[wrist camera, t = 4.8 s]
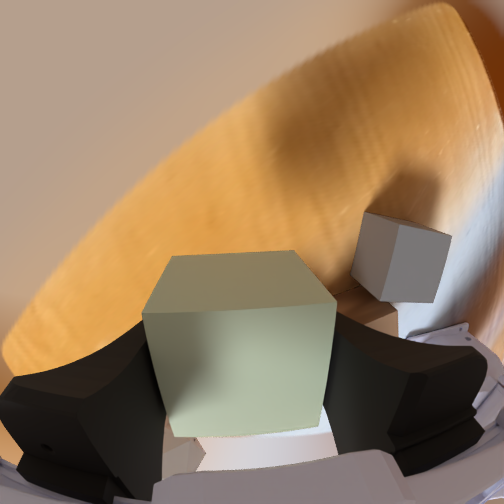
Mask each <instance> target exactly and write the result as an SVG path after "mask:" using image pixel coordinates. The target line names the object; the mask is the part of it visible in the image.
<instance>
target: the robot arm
mask: <svg viewBox="0 0 504 504" xmlns="http://www.w3.org/2000/svg"><path fill="white" fill-rule="evenodd" d="M468 328H469V324H468V323H467V322H465V323H462V324H458V325H455V326H451V327H448V328H444V329H440V330H437V331H433V332H429V333H425V334H421V335H417V336H413V337H409V338H407V339H402V338H399V337H395V336H392V335H389V334H386V333H383V332H380V331H377V330H375V329H372V328H370V327H368V326H365V325H363V324H361V323H359V322H357V321H355V320H353V319H351V318H349V317H347V316H345V315H343V314H341V313H339V312H337V311H336V318H335V327H334V335H333V342H332V350H331V357H330V364H329V370H328V376H327V382H326V388H325V394H324V400H323V406H324V408H325V411H326V414H327V416H328V420H329V423H330V426H331V429H332V433H333V436H334V440H335V444H336V447H337V451H338V455H337V456H333V457H329V458H324V459H319V460H314V461H309V462H302V463H297V464H290V465H283V466H275V467H266V468H257V469H244V470H222V471H199V472H189V473H177V474H174V475H172V476H170V477H168V478H166V479H164V480H162V457H163V440H164V427H165V421H166V415H167V413H166V409H165V406H164V403H163V399H162V396H161V392H160V389H159V385H158V382H157V378H156V374H155V370H154V367H153V363H152V359H151V354H150V350H149V346H148V342H147V337H146V333H145V328H144V323H143V320H142V321H140V322H139V323H138V324H137V325H135V326H134V327H133V328H131V329H130V330H129V331H127V332H126V333H125V334H123V335H122V336H120V337H119V338H117V339H116V340H115V341H113V342H112V343H110V344H109V345H107V346H105V347H104V348H102V349H100V350H98V351H96V352H94V353H93V354H91V355H89V356H86V357H84V358H82V359H79V360H77V361H75V362H72V363H70V364H67V365H64V366H61V367H58V368H55V369H51V370H48V371H44V372H39V373H34V374H28V375H23V376H16V377H14V378H13V379H12V380H11V381H10V383H9V384H8V386H7V387H6V388H5V390H4V391H3V392H2V394H1V395H0V420H1V422H2V423H3V425H4V427H5V428H6V430H7V431H8V432H9V434H10V435H11V436H12V438H13V439H14V440H15V442H16V443H17V444H18V446H19V447H20V448H21V449H22V451H23V452H24V453H23V455H22V458H21V460H20V462H19V464H18V466H16V465H14V464H12V463H10V462H8V461H6V460H3V459H2V458H1V456H0V504H484V503H485V502H487V501H488V500H491V499H496V498H504V368H503V365H502V362H501V361H500V359H499V357H498V356H497V355H496V354H495V353H494V352H492V351H491V350H490V349H489V348H487V347H486V346H485V345H484V344H483V343H481V342H480V341H479V340H478V339H476V338H475V337H474V336H473V335H471V334H470V333H469V332H468Z"/></svg>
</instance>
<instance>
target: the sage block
mask: <svg viewBox="0 0 504 504" xmlns="http://www.w3.org/2000/svg"><path fill="white" fill-rule="evenodd" d="M336 309H337V301H336V300H335V299H334V297H333V296H332V295H331V294H330V293H329V291H328V290H327V289H326V288H325V287H324V285H323V284H322V283H321V282H320V281H319V279H318V278H317V277H316V276H315V275H314V273H313V272H312V271H311V270H310V269H309V268H308V266H307V265H306V264H305V263H304V262H303V260H302V259H301V258H300V257H299V256H298V255H297V253H296V252H295V251H294V250H289V251H268V252H247V253H227V254H206V255H185V256H172V257H171V259H170V261H169V263H168V264H167V266H166V268H165V270H164V272H163V274H162V275H161V277H160V279H159V281H158V283H157V285H156V286H155V288H154V290H153V292H152V294H151V296H150V298H149V300H148V301H147V303H146V305H145V307H144V309H143V311H142V318H143V323H144V328H145V333H146V337H147V342H148V346H149V350H150V354H151V359H152V363H153V367H154V370H155V374H156V378H157V382H158V385H159V389H160V392H161V396H162V399H163V403H164V406H165V409H166V413H167V416H168V419H169V422H170V425H171V428H172V431H173V434H174V437H229V436H246V435H258V434H268V433H277V432H285V431H293V430H299V429H306V428H312V427H317V426H318V425H319V420H320V415H321V410H322V405H323V400H324V394H325V388H326V382H327V376H328V370H329V364H330V357H331V350H332V342H333V335H334V327H335V318H336Z"/></svg>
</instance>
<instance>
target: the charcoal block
mask: <svg viewBox="0 0 504 504" xmlns="http://www.w3.org/2000/svg"><path fill="white" fill-rule="evenodd" d="M451 239H452V236H451V235H448V234H445V233H443V232H440V231H437V230H434V229H432V228H429V227H426V226H423V225H420V224H417V223H415V222H411V221H406V220H402V219H397V218H392V217H388V216H383V215H378V214H373V213H368V212H364V214H363V219H362V224H361V229H360V234H359V239H358V243H357V248H356V252H355V256H354V261H353V265H352V269H351V273H350V275H351V276H352V277H353V278H354V279H355V280H357V281H358V282H359V283H360V284H361V285H362V286H363V287H364V288H366V289H367V290H368V291H369V292H370V293H371V294H372V295H373V296H375V297H376V298H377V299H378V300H379V301H386V302H412V303H433V302H434V299H435V296H436V293H437V289H438V286H439V283H440V280H441V276H442V273H443V270H444V266H445V262H446V259H447V255H448V251H449V247H450V243H451Z"/></svg>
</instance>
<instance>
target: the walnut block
mask: <svg viewBox="0 0 504 504" xmlns="http://www.w3.org/2000/svg"><path fill="white" fill-rule="evenodd" d="M333 297H334V299H335V300H336V301H337V309H336V311H337V312H339V313H341V314H343V315H345V316H347V317H349V318H351V319H353V320H355V321H357V322H359V323H361V324H363V325H365V326H368V327H370V328H372V329H375V330H377V331H380V332H383V333H386V334H389V335H392V336H395V337H398V310H397V309H395V308H394V307H393V306H392V305H391V304H390V303H389V302H386V301H379V300H378V299H377V298H376V297H375V296H373V295H372V294H371V293H370V292H369V291H368V290H367V289H366V288H364V287H363V286H359V287H356V288H354V289H351V290H348V291H346V292H343V293H340V294H337V295H334V296H333Z"/></svg>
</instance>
